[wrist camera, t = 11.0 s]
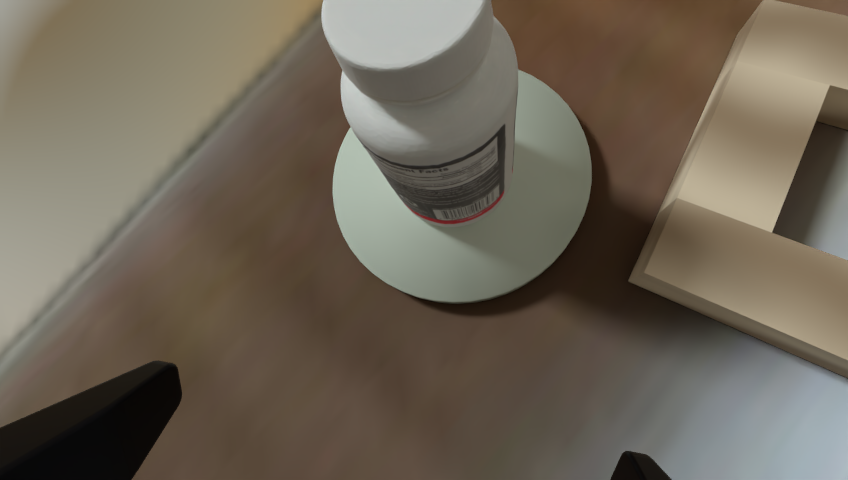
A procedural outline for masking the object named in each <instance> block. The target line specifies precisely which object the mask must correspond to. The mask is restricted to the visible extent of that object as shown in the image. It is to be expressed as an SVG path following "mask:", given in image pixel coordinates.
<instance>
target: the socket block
mask: <svg viewBox="0 0 848 480" xmlns="http://www.w3.org/2000/svg"><path fill="white" fill-rule="evenodd" d="M816 121H818V122H821V123H825V124H828V125H832V126H835V127H839V128H842V129H846V130H848V16H845V15H840V14H836V13H831V12H826V11H822V10H817V9H812V8H808V7H803V6H798V5H794V4H789V3H784V2H779V1H775V0H763V1H762V2H761V4H760V5H759V6H758V8H757V9H756V10H755V12H754V13H753V14H752V16H751V17H750V18H749V20H748V21H747V22H746V24H745V25H744V26H743V28H742V29H741V30H740V32H739V33H738V34H737V36H736V39H735V41H734V43H733V45H732V48H731V50H730V52H729V54H728V57H727V59H726V61H725V64H724V66H723V68H722V70H721V73H720V75H719V77H718V79H717V82H716V84H715V86H714V88H713V91H712V93H711V95H710V97H709V100H708V102H707V104H706V106H705V109H704V111H703V113H702V115H701V118H700V120H699V122H698V124H697V127H696V129H695V131H694V133H693V136H692V138H691V140H690V142H689V145H688V147H687V149H686V151H685V154H684V156H683V158H682V160H681V163H680V165H679V167H678V169H677V172H676V174H675V176H674V178H673V181H672V183H671V185H670V187H669V190H668V192H667V194H666V196H665V199H664V201H663V203H662V205H661V208H660V210H659V212H658V214H657V217H656V219H655V221H654V223H653V226H652V228H651V230H650V232H649V235H648V237H647V239H646V241H645V244H644V246H643V248H642V250H641V253H640V255H639V257H638V259H637V262H636V264H635V266H634V268H633V271H632V273H631V275H630V277H629V280H628V282H631V283H633V284H635V285H637V286H640V287H642V288H644V289H646V290H649V291H651V292H653V293H656V294H658V295H660V296H662V297H665V298H667V299H669V300H671V301H674V302H676V303H678V304H680V305H683V306H685V307H687V308H690V309H692V310H694V311H696V312H699V313H701V314H703V315H705V316H708V317H710V318H712V319H714V320H717V321H719V322H721V323H724V324H726V325H728V326H730V327H733V328H735V329H737V330H739V331H742V332H744V333H746V334H749V335H751V336H753V337H755V338H758V339H760V340H762V341H764V342H767V343H769V344H771V345H773V346H776V347H778V348H780V349H783V350H785V351H787V352H789V353H792V354H794V355H796V356H798V357H801V358H803V359H805V360H807V361H810V362H812V363H814V364H817V365H819V366H821V367H823V368H826V369H828V370H830V371H832V372H835V373H837V374H839V375H842V376H844V377H846V378H848V260H845V259H842V258H840V257H837V256H834V255H831V254H829V253H826V252H823V251H820V250H818V249H815V248H812V247H810V246H807V245H804V244H801V243H799V242H796V241H793V240H790V239H788V238H785V237H782V236H780V235H777V234H774V233H772V231H773V229H774V226H775V224H776V221H777V218H778V216H779V213H780V211H781V208H782V206H783V203H784V201H785V198H786V196H787V193H788V190H789V188H790V185H791V183H792V180H793V178H794V175H795V173H796V170H797V168H798V165H799V162H800V160H801V157H802V155H803V152H804V150H805V147H806V145H807V142H808V140H809V137H810V134H811V132H812V129H813V127H814V124H815V122H816Z"/></svg>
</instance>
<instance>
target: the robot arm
mask: <svg viewBox="0 0 848 480" xmlns="http://www.w3.org/2000/svg"><path fill="white" fill-rule="evenodd" d="M181 398H182V389H181V384H180V378H179V372H178V368H177V366H176V365H175V364H173V363H168V362H163V361H152V362H150V363H147V364H145V365H143V366H141V367H138V368H136V369H134V370H131V371H129V372H127V373H124V374H122V375H120V376H118V377H115V378H113V379H111V380H108V381H106V382H104V383H102V384H99V385H97V386H95V387H92V388H90V389H88V390H86V391H83V392H81V393H79V394H76V395H74V396H72V397H69V398H67V399H65V400H63V401H60V402H58V403H56V404H53V405H51V406H49V407H47V408H44V409H42V410H40V411H37V412H35V413H33V414H30V415H28V416H26V417H24V418H21V419H19V420H17V421H14V422H12V423H10V424H8V425H5V426H3V427H1V428H0V480H132V478H133V477H134V475H135V474H136V472H137V471H138V469H139V468H140V466H141V464H142V463H143V461H144V460H145V458H146V457H147V455H148V453H149V452H150V450H151V449H152V447H153V445H154V444H155V442H156V441H157V439H158V438H159V436H160V434H161V433H162V431H163V430H164V428H165V426H166V425H167V423H168V422H169V420H170V419H171V417H172V415H173V414H174V412H175V411H176V409H177V407H178V406H179V404H180V401H181ZM611 480H671V478H670V477H669V476H668V475H667V474H666V473H665V472H664V471H663V470H662V469H661V468H660V467H659V466H658V465H657V463H656V462H655V461H654V460H653V459H652V458H651V457H649V456H648V455H646V454H641V453H636V452H631V451H625V452H624V453H623V454H622V455H621V457H620V459H619V461H618V464H617V466H616V468H615V470H614V472H613V475H612V477H611Z"/></svg>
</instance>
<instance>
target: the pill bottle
mask: <svg viewBox="0 0 848 480" xmlns="http://www.w3.org/2000/svg"><path fill="white" fill-rule="evenodd" d="M322 26H323V30H324V33H325V36H326V39H327V41H328V43H329V45H330V47H331V49H332V51H333V53H334V55H335V57H336V59H337V60H338V62H339V64H340V66H341V68H342V70H343V71H342V77H341V100H342V105H343V110H344V113H345V116H346V118H347V120H348V122H349V124H350V126H351V128H352V130H353V132H354V134H355V135H356V137H357V138H358V139H359V141H360V142H361V144H362V145H363V147H364V148H365V149H366V150H367V152H368V153H369V155H370V156H371V158H372V159H373V161H374V162H375V164H376V165H377V166H378V168H379V169H380V171H381V172H382V174H383V175H384V176H385V178H386V180H387V181H388V183H389V184H390V186H391V187H392V188H393V189H394V191H395V192H396V194H397V195H398V196H399V198H400V199H401V200H402V201H403V203H404V204H405V205H406V207H407V208H408V209H409V210H410V211H411V212H412V213H413V214H414V215H416V216H417V217H419V218H420V219H422V220H423V221H425V222H427V223H430V224H433V225H437V226H442V227H460V226H465V225H469V224H472V223H475V222H477V221H479V220H481V219H483V218H484V217H486V216H487V215H489V214H490V213H491V212H492V211H494V210H495V209H496V208H497V207H498V205H499V204H500V203H501V202H502V200H503V199H504V197H505V196H506V194H507V191H508V189H509V187H510V183H511V180H512V174H513V162H514V142H515V119H516V106H517V95H518V64H517V58H516V53H515V50H514V46H513V43H512V41H511V39H510V37H509V35H508V33H507V32H506V30H505V28H504V27H503V26H502V25H501V23H500V22H499V21H498V20H497V19H496V18H495V17H494V16H493V10H492V6H491V0H323V5H322Z"/></svg>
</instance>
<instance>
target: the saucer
mask: <svg viewBox="0 0 848 480" xmlns="http://www.w3.org/2000/svg"><path fill="white" fill-rule="evenodd" d="M591 183H592V164H591V157H590V151H589V146H588V143H587V140H586V137H585V134H584V131H583V129H582V127H581V125H580V123H579V121H578V119H577V118H576V116H575V115H574V113H573V112H572V110H571V109H570V107H569V106H568V105H567V104H566V103H565V102H564V100H563V99H562V98H561V97H560V96H559V95H558V94H557V93H556V92H555V91H553V90H552V89H551V88H550V87H548V86H547V85H546V84H545V83H543V82H541V81H540V80H538V79H536V78H535V77H533V76H531V75H529V74H527V73H525V72H523V71H520V70H518V95H517V106H516V119H515V142H514V162H513V174H512V180H511V183H510V187H509V189H508V191H507V194H506V196H505V197H504V199H503V200H502V202H501V203H500V204H499V205H498V207H497V208H496V209H495V210H494V211H492V212H491V213H490V214H489V215H487V216H486V217H484V218H483V219H481V220H479V221H477V222H475V223H472V224H469V225H465V226H460V227H442V226H437V225H433V224H430V223H427V222H425V221H423V220H422V219H420V218H419V217H417V216H416V215H414V214H413V213H412V212H411V211H410V210H409V209H408V208H407V207H406V205H405V204H404V203H403V201H402V200H401V199H400V198H399V196H398V195H397V194H396V192H395V191H394V189H393V188H392V187H391V186H390V184H389V183H388V181H387V180H386V178H385V176H384V175H383V174H382V172H381V171H380V169H379V168H378V166H377V165H376V164H375V162H374V161H373V159H372V158H371V156H370V155H369V153H368V152H367V150H366V149H365V148H364V147H363V145H362V144H361V142H360V141H359V139H358V138H357V137H356V135H355V134H354V132H353V130H352V128H351V127H350V129H349V131H348V132H347V134H346V136H345V138H344V141H343V143H342V145H341V147H340V150H339V153H338V157H337V160H336V164H335V170H334V176H333V201H334V209H335V213H336V217H337V221H338V224H339V226H340V229H341V231H342V234H343V236H344V238H345V240H346V242H347V243H348V245H349V247H350V249H351V250H352V251H353V253H354V254H355V255H356V256H357V258H358V259H359V260H360V262H361V263H362V264H363V265H365V266H366V267H367V268H368V269H369V270H370V271H371V272H372V273H373V274H374V275H376V276H377V277H379V278H380V279H381V280H383V281H384V282H386V283H387V284H389V285H391V286H393V287H395V288H397V289H399V290H401V291H402V292H404V293H406V294H409V295H412V296H415V297H417V298H420V299H424V300H429V301H433V302H438V303H450V304H462V303H475V302H480V301H486V300H491V299H494V298H497V297H500V296H503V295H506V294H508V293H510V292H513V291H515V290H517V289H519V288H521V287H523V286H525V285H526V284H528V283H529V282H531V281H532V280H534V279H535V278H537V277H538V276H539V275H541V274H542V273H543V272H544V271H545V270H546V269H547V268H549V267H550V266H551V265H552V264H553V263H554V262H555V260H556V259H557V258H558V257H559V256H560V255H561V254H562V252H563V251H564V250H565V248H566V247H567V245H568V244H569V242H570V241H571V239H572V237H573V236H574V234H575V233H576V231H577V229H578V227H579V225H580V223H581V221H582V219H583V216H584V214H585V211H586V207H587V204H588V201H589V196H590V190H591Z"/></svg>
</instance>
